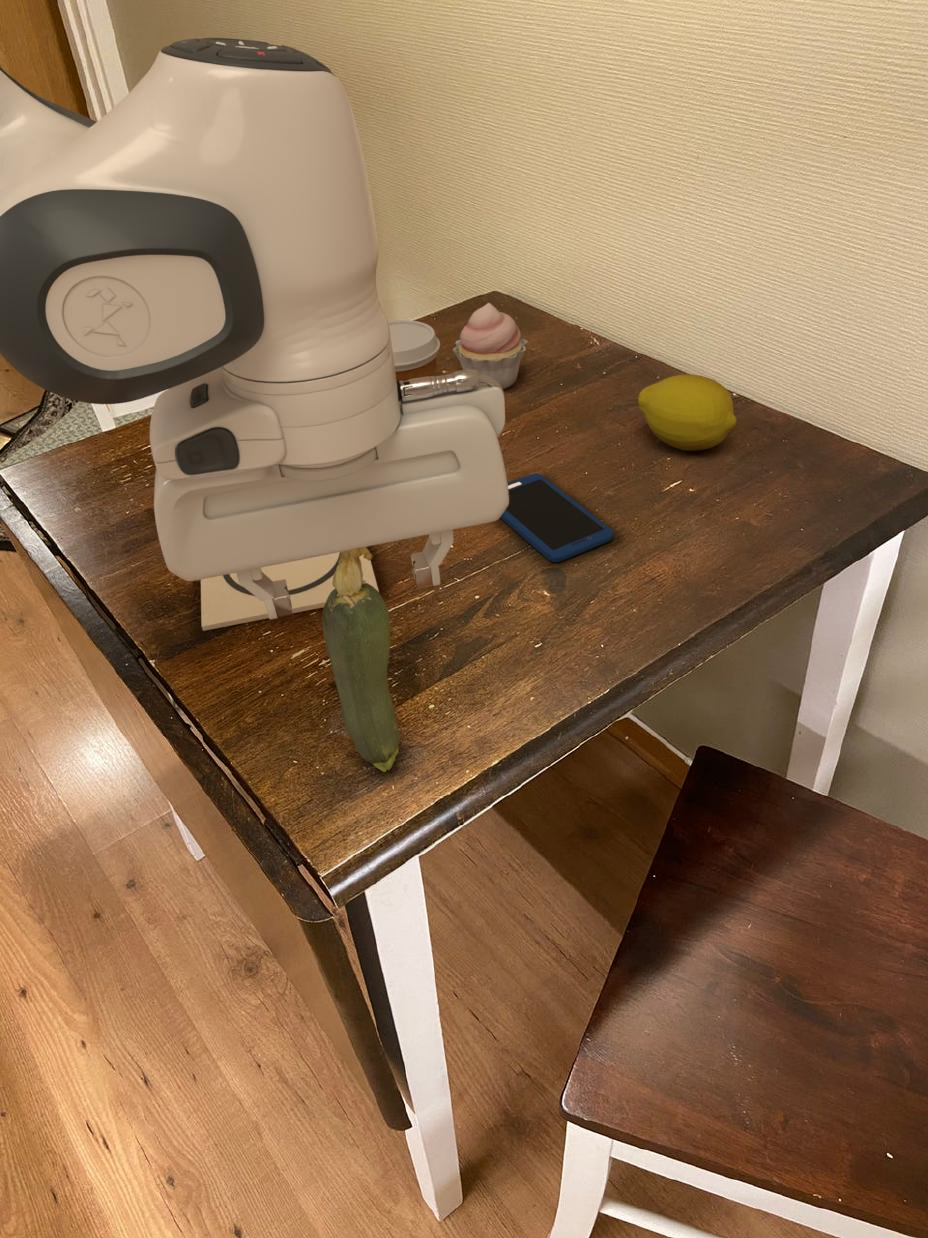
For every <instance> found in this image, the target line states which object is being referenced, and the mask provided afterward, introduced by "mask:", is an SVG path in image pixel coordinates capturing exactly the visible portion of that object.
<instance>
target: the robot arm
mask: <svg viewBox="0 0 928 1238" xmlns="http://www.w3.org/2000/svg"><path fill="white" fill-rule="evenodd" d="M354 114H355V113H354V111H353V108H352V104H351V102H350V98H349V96H348V94H347V92H346V89H345V88H344V85H343V84H342V82H341V80H340V79H339V77H337V76H336V75H335V74H334V73H333V72H332V71H331V68H329V67H328V66H326V65H325V64H324V63H322V61H320V60H318V59H317V58H315V57H313V56H311V55H310V54H308V53H306V52H304V51H302V50H299V49H296V48H294V47H290V46H288V45H284V44H280V45H278V44H273V43H272V44H271V43H269V42H267V41H261V40H253V39H252V40H251V39H250V40H249V39H243V38H242V39H241V38H229V37H228V38H227V37H203V38H196V37H195V38H188V39H187V38H186V39H183V40H182V39H181V40H178V41H174V42H172V44H169V45H166V46H163V47H162V48H161V49H160V50H159V52H158V54H157V56H156V58H155V60H154V62H153V63H152V65H151V67H150V69H149V70H148V71H147V72H146V73H145V75H144V76H143V77H142V78H141V79H140V80H139V81H138V83H137V84H136V85H135V86H134V87H133V88H132V89H131V90H130V92H128V93H127V94H126V95H125V96H124V97H123V98H122V99H121V100H120V101H119V102H118V103H117V104H116V105H115V106H114V107H113V108H111V109H110V110H109V111H108V112H107V113H106V114H105V115H104V116H102V117H100V119H99V120H97V121H96V120H94V119H92V118H89V117H88V116H85V115H83V114H80V113H78V112H76V111H73V110H72V109H68V108H66V107H63V106H62V105H59V104H57V103H54V102H52V101H50V100H49V99H46V98H44V97H43V96H40V95H38V94H36V93H35V92H33V91H31V90H29V89H28V88H27V87H25V86H23V85H22V84H21V82H19V81H17V80H16V79H15V78H14V77H12V75H10V74H8V72H7V71H5V70H4V69H3V68H2V67H0V355H1V356H2V358H4V360H5V361H6V362H7V363H8V364H9V365H10V366H11V367H12V368H13V369H14V370H16V371H17V372H18V373H19V374H20V375H21V376H22V377H24V378H25V379H27V380H28V381H30V382H31V383H33V384H35V385H36V386H39V387H40V388H42V389H43V390H45V391H48V392H49V393H52V394H54V395H57V396H59V397H62V398H64V399H68V400H71V401H75V402H80V403H85V404H93V405H116V404H117V405H119V404H124V403H125V404H126V403H131V402H135V401H139V400H142V399H145V398H148V397H150V396H151V397H152V396H154V395H157V394H159V393H160V394H159V395H158V396H157V398H156V400H155V402H154V405H153V408H152V412H151V417H150V423H149V445H150V452H151V457H152V460H153V463H154V466H155V473H154V484H153V485H154V487H153V488H154V490H153V512H154V520H155V526H156V532H157V537H158V541H159V545H160V549H161V552H162V556H163V559H164V562H165V565H166V567H167V570H168V571H169V572H170V573H172V574H173V575H175V576H176V577H178V578H179V579H182V580H183V581H185V582H196V581H201V579H206V578H211V577H216V576H221V575H226V574H231V573H236V574H237V577H238V580H239V584H240V585H242V586H243V587H244V588H246V589H247V590H248V591H249V592H251V593H252V594H253V595H255V596H256V597H257V598H259V599H260V600H261V601H264V602H265V606H266V609H267V613H268V616H269V618H268V619H269V620H270V621H271V620H276V619H281V618H285V617H290V616H293V615H294V613H293V611H292V604H291V599H290V595H289V593H288V587H287V583H286V580H285V579H284V580H278V581H273V582H272V580H271V579H270V578H269V577H267V576H266V575H265V574H264V573H263V572H262V571H261V567H266V566H272V565H277V564H282V563H287V562H292V561H297V560H302V559H307V558H312V557H317V556H322V555H327V554H332V553H337V552H342V551H348V550H353V549H358V548H363V547H367V548H368V547H372V546H377V545H383V544H387V543H392V542H399V541H403V540H408V539H412V538H418V537H424V536H428V539H427V541H426V543H425V545H424V547H423V548H422V549H423V550H422V551H419V552H414V553H411V554H410V559H411V564H412V573H413V577H414V581H415V583H416V588H417V590H421V589H426V588H431V587H436V586H441V574H440V566H441V565H442V563H443V561H444V560H445V558H446V556H447V554H448V553H449V552H450V549H451V547H452V546H453V544H454V541H455V540H454V530H458V529H459V530H460V529H465V528H469V527H474V526H479V525H483V524H489V523H493V522H496V521H499V519H501V518H500V517H501V515H502V514H503V513H504V511H505V510H506V508H507V507H508V505H509V492H508V483H509V482H508V477H507V472H506V467H505V461H504V457H503V454H502V453H503V452H502V449H501V445H500V442H499V439H498V437H499V436H500V435H501V433H502V432H503V431H504V428H505V424H506V419H507V416H506V397H505V392H504V389H502V387H501V386H500V385H499V383H498V382H497V381H495V380H494V379H492V378H491V377H488V376H484V375H478V374H477V372H476V370H463V369H462V370H461V369H460V370H456V371H454V372H453V371H452V372H451V373H449V374H442V375H436V376H435V377H434V376H430V377H429V376H428V377H420V378H414V379H408V380H402V381H397V380H396V373H395V365H394V358H393V350H392V342H391V335H390V328H389V324H388V318H387V315H386V313H385V312H384V308H383V307H382V305H381V302H380V299H379V294H378V289H377V288H378V287H377V269H378V262H379V251H380V248H379V247H380V245H379V237H378V230H377V222H376V217H375V210H374V202H373V197H372V191H371V186H370V180H369V175H368V174H369V173H368V169H367V165H366V160H365V155H364V150H363V146H362V141H361V138H360V137H361V136H360V133H359V127H358V126H357V121H356V118H355V115H354ZM479 382H480V383H485V384H483V385H479Z"/></svg>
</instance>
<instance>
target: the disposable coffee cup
mask: <svg viewBox="0 0 928 1238" xmlns="http://www.w3.org/2000/svg"><path fill="white" fill-rule="evenodd" d="M387 321H388V320H387ZM388 324H389V328H390V335H391V342H392V350H393V358H394V365H395V373H396V380H397V381H402V380H408V379H414V378H420V377H428V376H429V377H430V376H434V377H435V376H437V375H436V374H437V373H436V372H437V356H438V354H439V351H440V347H441V341H440V339H439V338H438V337H437V335H436V332H435V329H434V328H433V327H432V326H431V325H429V324H427V323H425V322H421V321H417V320H409V319H407V320H406V319H405V320H402V319H401V320H397V319H396V320H389V321H388Z"/></svg>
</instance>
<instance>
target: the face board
mask: <svg viewBox="0 0 928 1238" xmlns="http://www.w3.org/2000/svg"><path fill="white" fill-rule="evenodd" d="M339 555H342V554H341V553H340V552H337V553H332V554H327V555H322V556H317V557H312V558H307V559H302V560H297V561H292V562H287V563H282V564H277V565H272V566H266V567H261V571H262V572H263V573H264V574H265V575H266V576H267V577H269V578H270V579H271V580H272V582H273V581H278V580H284V579H285V580H286V583H287V587H288V593H289V595H290V599H291V604H292V611H293V614H296V613H302V612H307V611H311V610H318V609H321V608H324V605H325V603H326V601H327V598H328V596H329V594H330V593H331V592H332V590H334V589H335V588H334V587H333V585H332V581H333V576H334V573H335V571H336V569H337V566H338V565H339V560H340V556H339ZM363 556H364V554H362V556H360V557H359V558H360V561H361V566H362V572H363V579H362V581H363V580H365V582H366V583H368V584H370V585H371V586H373V587H374V588H375V589H376V590H377V591H378V592H379V593H380V590H379V586H378V582H377V579H376V575H375V571H374V567H373V565H372V564H373V563H372V561H371V560H372V559H371V560H367V559H364V557H363ZM200 612H201V613H200V615H201V619H200V621H201V630H202V631H203V632H205V631H210V630H211V631H212V630H216V629H221V628H227V627H231V626H236V625H240V624H246V623H251V622H256V621H257V622H258V621H261V620H266V619H269V616H268V613H267V609H266V606H265V602H264V601H261V600H260V599H259V598H257V597H256V596H255V595H253V594H252V593H251V592H249V591H248V590H247V589H246V588H244V587H243V586H242V585H240V584H239V580H238V577H237V574H236V573H231V574H226V575H221V576H216V577H211V578H206V579H201V580H200Z"/></svg>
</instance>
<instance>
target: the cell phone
mask: <svg viewBox="0 0 928 1238" xmlns="http://www.w3.org/2000/svg"><path fill="white" fill-rule="evenodd" d="M507 483H508V492H509V505H508V507H507V508H506V510H505V511H504V513H503V514H502V515H501V517H500V518H499V519H501V520H502V521H503V522H504V523H506V524H507V525H508V526H509V527H510V528H511V529H512V530H514V532H516V533H517V534H518V535H519V536H520V537H522V538H523V539H524V540H525V541H526V542H527V543H528V544H530V545H531V546H532V547H533V548H534V549H535V550H536V551H537V552H538V553H540V554H541V555H542V556H543V557H544V558H545V559H547V560H548V561H549V562H552V563H559V562H563V561H565V560H568V559H571V558H573V557H576V556H577V555H580V554H582V553H585V552H587V551H589V550H593V549H594V548H597V547H599V546H601V545H605V544H606V543H610V542H611V541H612V540H613V539H614V536H615V534H614V531H613V529H612V528H611V527H610V526H608V525H607V524H606V523H604V522H603V521H602V520H600V519H599V518H598V517H596V516H595V515H594V514H593V513H591V512H590V511H589V510H588V509H586V508H585V507H583V506H582V505H581V504H579V502H577V501H576V500H575V499H573V498H572V497H571V496H569V495H568V494H567V493H565V492H564V491H563V490H561V488H559V487H558V486H556V485H555V484H554V483H552V482H551V481H550V480H548V479H547V478H546V477H545V476H544V475H542V474H540V473H530V474H528V475H525V476H522V477H520V478H517V479H514V480H512V481H509V482H507Z"/></svg>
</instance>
